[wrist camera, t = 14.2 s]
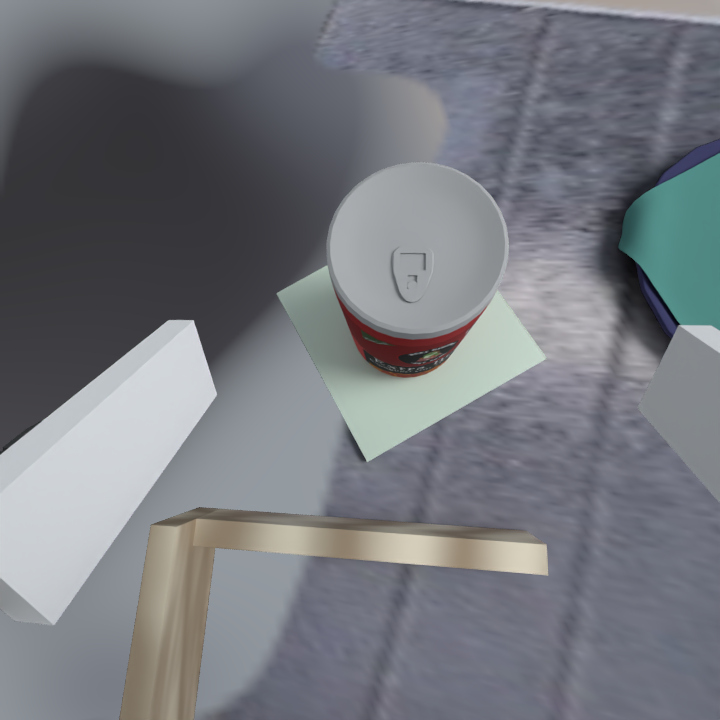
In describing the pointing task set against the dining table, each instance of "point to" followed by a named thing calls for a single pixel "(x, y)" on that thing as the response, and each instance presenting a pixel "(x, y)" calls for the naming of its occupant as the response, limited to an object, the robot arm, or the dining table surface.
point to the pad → (396, 394)
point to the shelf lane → (277, 535)
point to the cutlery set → (679, 241)
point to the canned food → (415, 263)
